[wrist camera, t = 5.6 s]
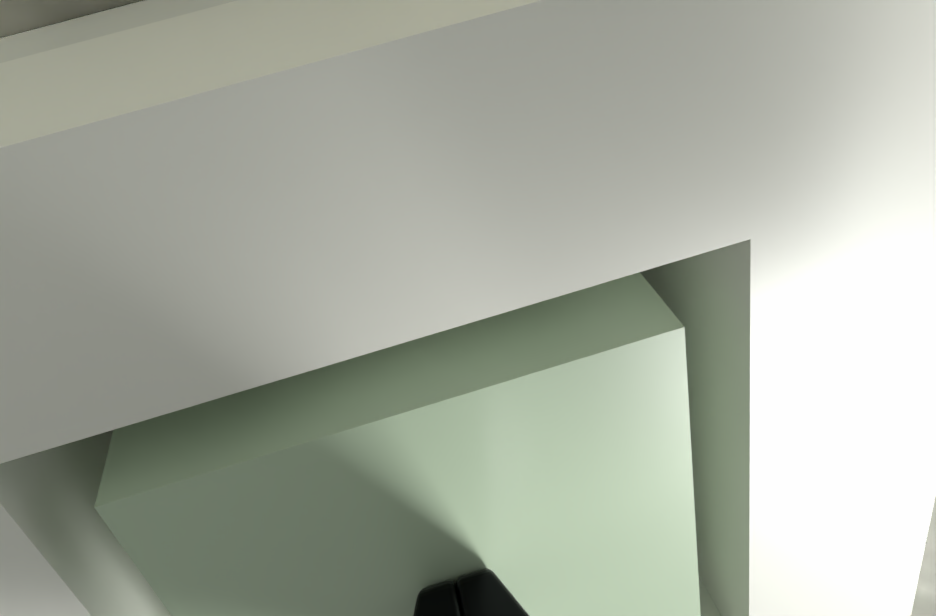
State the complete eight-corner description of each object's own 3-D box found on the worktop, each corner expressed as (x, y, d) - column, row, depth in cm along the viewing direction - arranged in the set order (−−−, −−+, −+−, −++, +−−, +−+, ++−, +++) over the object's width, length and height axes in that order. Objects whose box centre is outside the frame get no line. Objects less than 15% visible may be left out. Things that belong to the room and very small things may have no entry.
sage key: (626, 508, 13) (702, 656, 10) (291, 615, 12) (297, 792, 10) (587, 206, 10) (684, 327, 7) (136, 338, 9) (94, 507, 7)
